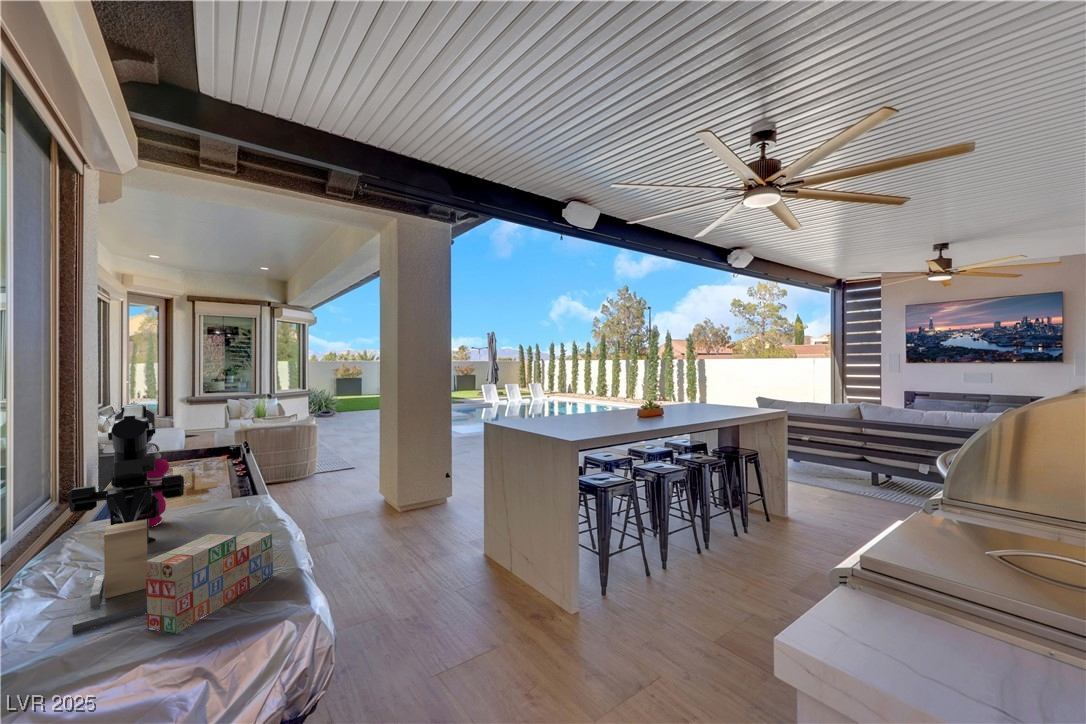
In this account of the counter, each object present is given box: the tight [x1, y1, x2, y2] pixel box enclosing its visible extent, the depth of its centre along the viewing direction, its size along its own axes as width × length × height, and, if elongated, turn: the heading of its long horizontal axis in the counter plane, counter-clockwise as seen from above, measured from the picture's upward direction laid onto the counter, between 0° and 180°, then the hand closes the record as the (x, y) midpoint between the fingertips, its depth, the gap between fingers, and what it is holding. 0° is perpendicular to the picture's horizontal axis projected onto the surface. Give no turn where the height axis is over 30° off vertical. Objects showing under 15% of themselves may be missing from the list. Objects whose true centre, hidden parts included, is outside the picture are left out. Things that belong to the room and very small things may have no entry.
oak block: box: [103, 519, 148, 598], centre depth 90 cm, size 6×6×12 cm
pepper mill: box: [147, 452, 170, 528], centre depth 128 cm, size 7×7×20 cm
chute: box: [71, 573, 147, 635], centre depth 90 cm, size 22×13×4 cm, turn 40°
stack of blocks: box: [146, 531, 274, 635], centre depth 88 cm, size 21×6×12 cm, turn 169°
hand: (129, 527), depth 97 cm, fingers closed
